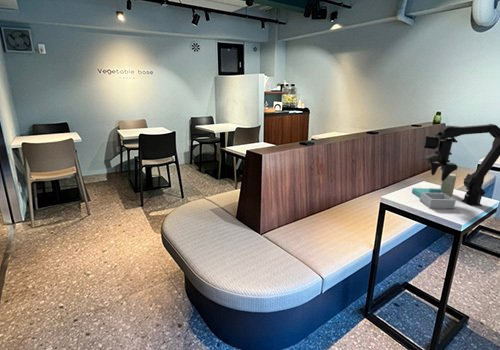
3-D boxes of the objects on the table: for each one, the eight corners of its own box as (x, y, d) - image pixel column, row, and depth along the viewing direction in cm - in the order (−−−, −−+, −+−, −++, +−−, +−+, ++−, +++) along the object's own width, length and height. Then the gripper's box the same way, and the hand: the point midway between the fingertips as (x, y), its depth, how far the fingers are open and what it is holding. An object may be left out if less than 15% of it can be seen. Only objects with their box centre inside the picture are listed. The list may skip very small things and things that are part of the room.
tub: (442, 201, 156) (444, 193, 154) (453, 209, 146) (455, 200, 145) (419, 200, 156) (421, 192, 155) (429, 208, 147) (431, 199, 145)
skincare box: (452, 194, 167) (457, 174, 163) (451, 196, 163) (456, 176, 160) (439, 191, 170) (444, 172, 167) (438, 193, 167) (443, 173, 163)
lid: (435, 192, 168) (437, 183, 167) (446, 199, 158) (449, 190, 156) (411, 191, 169) (413, 182, 167) (421, 198, 158) (424, 189, 156)
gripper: (419, 145, 160) (413, 172, 165) (438, 153, 142) (431, 183, 147) (439, 146, 159) (433, 172, 164) (461, 154, 142) (454, 183, 146)
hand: (437, 177), depth 155 cm, fingers open, 9 cm apart
